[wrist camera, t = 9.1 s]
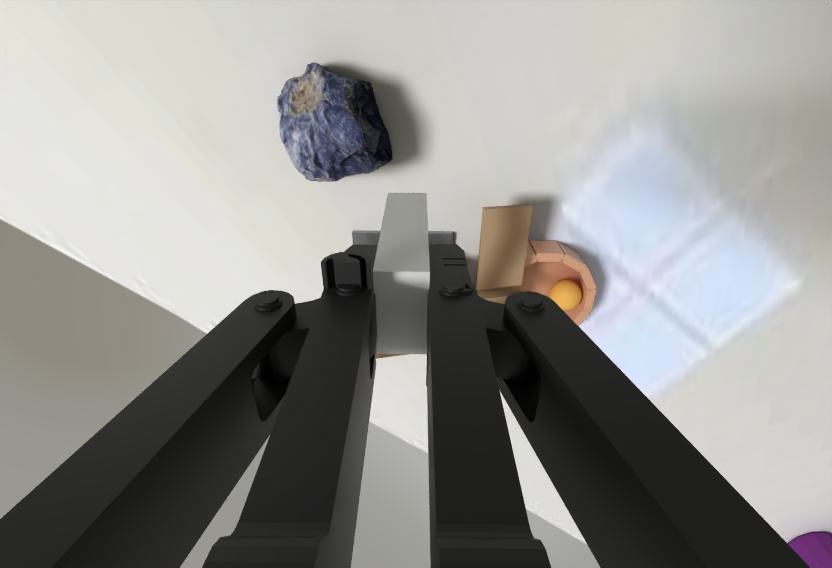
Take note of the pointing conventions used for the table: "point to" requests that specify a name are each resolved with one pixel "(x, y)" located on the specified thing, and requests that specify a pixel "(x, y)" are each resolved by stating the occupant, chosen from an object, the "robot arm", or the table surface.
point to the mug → (814, 549)
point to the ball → (566, 294)
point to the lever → (500, 253)
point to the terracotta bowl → (558, 274)
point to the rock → (331, 125)
